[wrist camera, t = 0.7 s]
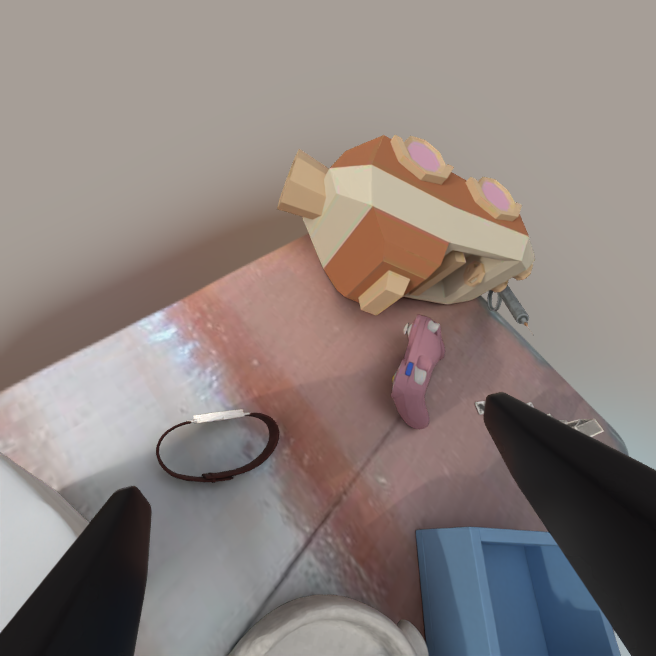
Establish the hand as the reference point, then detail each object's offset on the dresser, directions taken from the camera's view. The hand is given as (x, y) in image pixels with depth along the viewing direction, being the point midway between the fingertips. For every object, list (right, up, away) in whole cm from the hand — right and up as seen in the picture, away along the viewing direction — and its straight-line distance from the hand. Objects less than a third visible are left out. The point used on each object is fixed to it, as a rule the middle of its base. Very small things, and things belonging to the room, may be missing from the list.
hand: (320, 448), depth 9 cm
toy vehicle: (+10, +18, +30) cm, 36 cm away
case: (+12, -19, +18) cm, 29 cm away
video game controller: (+8, -2, +26) cm, 27 cm away
